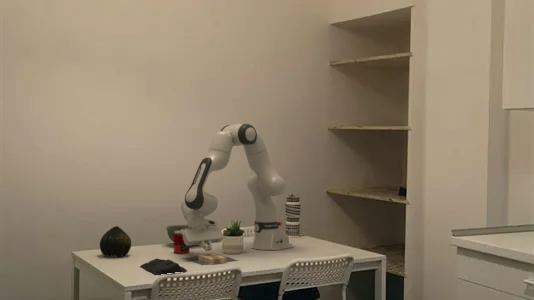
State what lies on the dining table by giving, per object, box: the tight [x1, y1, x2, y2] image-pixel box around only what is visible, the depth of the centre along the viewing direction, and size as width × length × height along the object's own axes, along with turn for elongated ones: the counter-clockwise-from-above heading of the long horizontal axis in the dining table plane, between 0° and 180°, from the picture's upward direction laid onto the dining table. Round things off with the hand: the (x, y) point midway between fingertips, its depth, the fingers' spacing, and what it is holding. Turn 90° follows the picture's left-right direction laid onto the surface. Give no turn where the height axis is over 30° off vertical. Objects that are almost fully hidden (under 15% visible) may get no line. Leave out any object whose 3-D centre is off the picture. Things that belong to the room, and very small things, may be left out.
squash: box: [99, 225, 132, 258], centre depth 311 cm, size 14×15×15 cm
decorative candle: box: [284, 193, 301, 238], centre depth 378 cm, size 9×9×25 cm
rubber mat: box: [181, 253, 240, 266], centre depth 303 cm, size 20×20×1 cm
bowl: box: [166, 224, 194, 247], centre depth 342 cm, size 21×21×10 cm
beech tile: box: [197, 253, 228, 266], centre depth 298 cm, size 8×2×12 cm
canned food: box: [173, 231, 190, 255], centre depth 319 cm, size 8×8×11 cm
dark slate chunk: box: [139, 258, 188, 276], centre depth 281 cm, size 15×22×5 cm
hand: (208, 250), depth 300 cm, fingers closed
